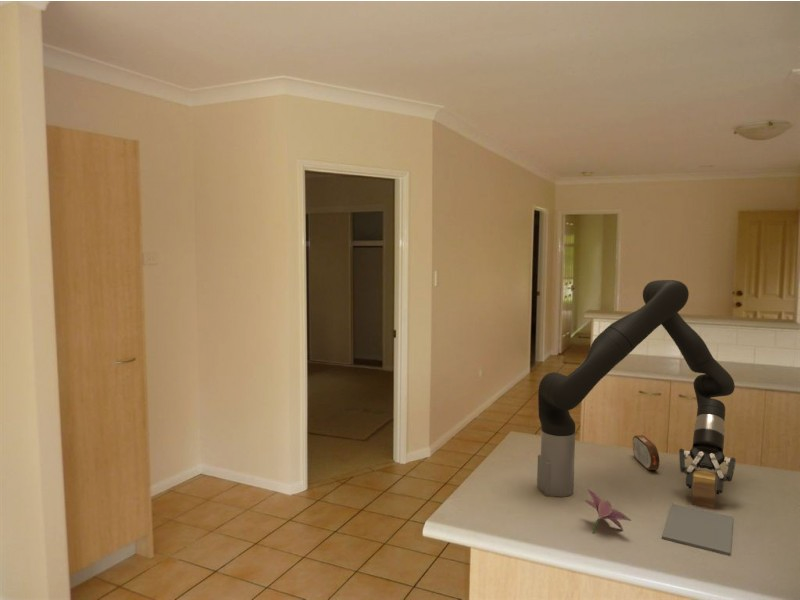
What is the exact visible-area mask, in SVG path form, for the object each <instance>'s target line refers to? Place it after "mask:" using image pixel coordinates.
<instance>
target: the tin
mask: <svg viewBox="0 0 800 600" xmlns="http://www.w3.org/2000/svg"><path fill="white" fill-rule="evenodd" d="M632 451H633V455H634V458H635V459H636V460H637V461H638V462H639V463H640V464H641V466H643V467H644V468H645V470H646V471H647V470H648V471H657V470H658V469H659V467H660V455H659V451H658V447H657V446H656V444H655V443H654V442H653V441H651V440H650V439H649V438H648V437H647V436H646V435H644V434H640V435H634V436H633V438H632Z"/></svg>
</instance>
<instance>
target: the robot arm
mask: <svg viewBox="0 0 800 600" xmlns="http://www.w3.org/2000/svg"><path fill="white" fill-rule="evenodd" d="M689 293H690V292H689V288H688V286H687V285H686V284H685V283H683V282H682V281H680V280H674V279H657V280H653V281H650V282H648V283H647V284H646V285H645V286H644V288H643V290H642V300H643V303H644V305H643V306H641V308H638V309H637V310H635V311H633V312H632V313H631V312H630V314H627V315H625V316H623V317H621V318H619V319H618V320H616V321H614V322H612V323H611V324H610V325H609V326H607V327H606V328H605V329H603V330H602V332H600V333H599V334H598V335H597V336H596V337H595V338H594V339H593V341H592V343H591V344H590V347H589V348H588V349H589V350H588V351H587V352H588V353H587V354H586V357H585V359H584V360H583V362H582V363H581V364H580V365H579V366H578V367H577V368H575V369H574V370H573V371H572V372H570V373H569V374H567V375H565V374H562V373H559V372H556V371H555V372H549V373H547V374H544V376H543V377H542V379H541V380H540V382H539V384H538V385H539V386H538V390H537V391H538V392H537V393H538V395H537V396H538V397H537V399H538V404H537V405H538V419H539V421H540V424H541V425H540V426H541V427H540V428H541V429H540V431H541V432H540V434H541V435H540V454H538V455H537V476H536V481H537V482H536V487H537V488H538V489H539V490H540V491H541V492H542V493H543V494H544V495H545V496H546V497H547V496H552V497H558V498H559V497H561V498H562V497H563V498H564V497H569V496H571V495H573V494H574V488H575V457H576V456H575V455H576V454H575V452H576V451H575V450H576V422H575V421H574V419H573V417H572V416H571V414H570V411H571V410H573V409H575V408H577V406H579V405H580V403H581V402H582V401H583V400H584V399H585V398H586V397H587V396H588V395H589V394H590V392H591V391H592V390H593V389H594V388H595V386H596V385H597V384H598V383H599V382H600V381H601V380H602V379H604V377H605V376H607V375H608V373H609V372H611V371H612V370H613V369H614V368H615V367H616V366H617V365H618V364H619V363H621V362H622V361H623V360H624V359H625V358H626V357H627V356H628V355H629V354H630V353H631V352H633V351H634V349H635V348H636V347H638V346H639V345H640V344H641V343H642V342H643V341H644V340H645V339H646V338H648V337H649V336H650V335H651V334H652V333H653V332H654V331H655V330H656V329H657V328H658V327H660V326H662V327H663V328H664V330H665V331H666V332H667V335H669V337H670V338H671V339H672V340H673V342H674V344H675V345H676V346H677V349H678V350H679V352H680V354H681V356H682V357H683V360H684V362H685V363H686V364H687V366H688V368H689V369H690V370H691V372H693V373H697V374H700V375H697V376H696V377H695V378H694V381H693V385H692V386H693V390H694V393H695V397H696V398H695V399H696V404H697V408H696V409H697V413H696V419H695V423H694V427H693V437H692V447H691V449H690V450H684V449H683V448H679V450H678V454H679V468H680V469H679V470H680V473H682V474H685V475H686V477H685V478H686V479H685V485H686V487H688V490H689V489H690V490H692V489H693V478H694V472H695V470H699V469H707V470H709V471H713V473H716V479H717V480H716V488H715V495H720V494H722V493H723V491H724V482H731V481H732V479H733V475H734V471H735V467H736V460H737V459H736V458H735V457H727V456H725V455H724V443H725V437H726V434H725V432H726V427H725V426H726V425H725V422H726V421H725V419H726V405H725V404H724V403H723V402H722V401H721V400H719V399H716V398H718V397H727V396H730V395H732V394H733V393H734V391H735V387H736V386H735V380H734V379H733V377H732V375H731V374H730V373H729V372H728V371H727V370H726V369H725V368H724V367H723V366H722V365H721V364H720V363H719V362H718V361H717V360H716V359H715V358H714V357H713V355H712V353H711V352H710V350H709V347H708V346H707V344H706V342H705V341H704V339H703V338H702V337H701V336H700V335H699V333H697V332H696V331H695V330H694V329H693V328H692V327H691V326H690V325H689V324H688V323H687V322H686V321H685V320H684V319H683V318H682V316H681V314H680V313H679V312H680V311H681V310H682V309H683V308H684V307H685V306H686V304H687V302H688V301H689V295H690V294H689ZM689 456H690V458H691V459H692V461H691V463H690V465H689V466H688V467H687V466H686V461H685V460H687V459H688V458H689ZM724 462H725V463H726V464H725V465H726V467H728V468H727V472H726V474H724V473H723V472H722V471H723V470H722V469H721V464H723V463H724Z"/></svg>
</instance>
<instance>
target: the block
mask: <svg viewBox="0 0 800 600" xmlns="http://www.w3.org/2000/svg"><path fill="white" fill-rule="evenodd" d="M716 479H717V476H716V473H715V472H709V471H704V470H700V469H697V470H695V472H694V473H693V479H692V501H691V505H692V506H695V505H696V506H695V507H700V508H705V509H711V510H714V508H715V501H716V486H717V480H716Z"/></svg>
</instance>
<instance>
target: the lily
mask: <svg viewBox="0 0 800 600" xmlns="http://www.w3.org/2000/svg"><path fill="white" fill-rule="evenodd" d="M585 488H586V491H587V492H588V493H589V495H590V497H591V499H592V500H591V499H589V500H588V499H583V502H585V503H587V504H588V505H589V506H591V507H592V508H594V509H596V512H597V515H598V517H597V520H596V522H595V524H594V527H593V531H592V534H593V535H594V533H595V531H596V528H597V525H598V522H599V520H600V519H602V520H610V521H611V522H612V523H614V524H615V525H616V526H617V527H618V528H620V530H621V531H624V528H623V527H622V524H621V523H620V520H623V521H628V522H631V521H632V519H631V518H629V516H627V515H626V514H625V513H623V512H621V511H620V510H618V509H615V508H613V506H612V503H611V502H610V500H608V499H604V500H603V499H601V497H600V496H599V495H598V494H597V493H596V492H595V491H593V490H592V489H590V488H589V487H586V486H585Z"/></svg>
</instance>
